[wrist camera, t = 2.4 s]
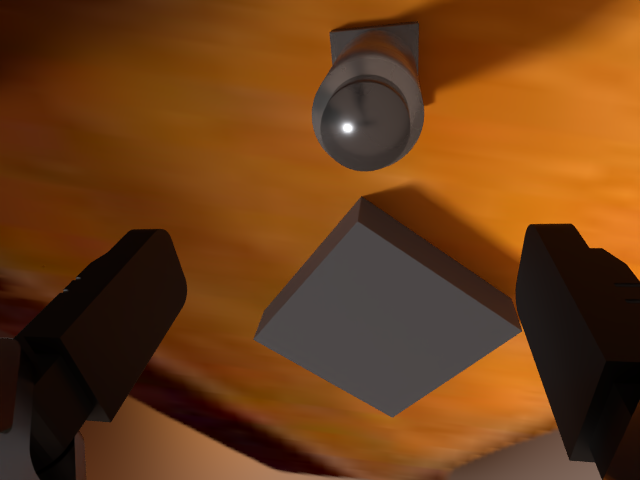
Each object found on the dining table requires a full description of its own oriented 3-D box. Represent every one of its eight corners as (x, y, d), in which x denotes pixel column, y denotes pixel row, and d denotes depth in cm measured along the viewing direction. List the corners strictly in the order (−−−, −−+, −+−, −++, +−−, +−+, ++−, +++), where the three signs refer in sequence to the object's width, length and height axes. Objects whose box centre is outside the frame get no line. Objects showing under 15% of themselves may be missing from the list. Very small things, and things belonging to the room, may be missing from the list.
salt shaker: (417, 21, 24) (430, 57, 15) (416, 108, 27) (427, 184, 18) (331, 30, 25) (295, 69, 16) (339, 113, 28) (311, 188, 19)
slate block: (361, 193, 31) (357, 221, 28) (510, 295, 34) (522, 331, 31) (265, 307, 39) (253, 339, 36) (392, 381, 42) (392, 417, 39)
